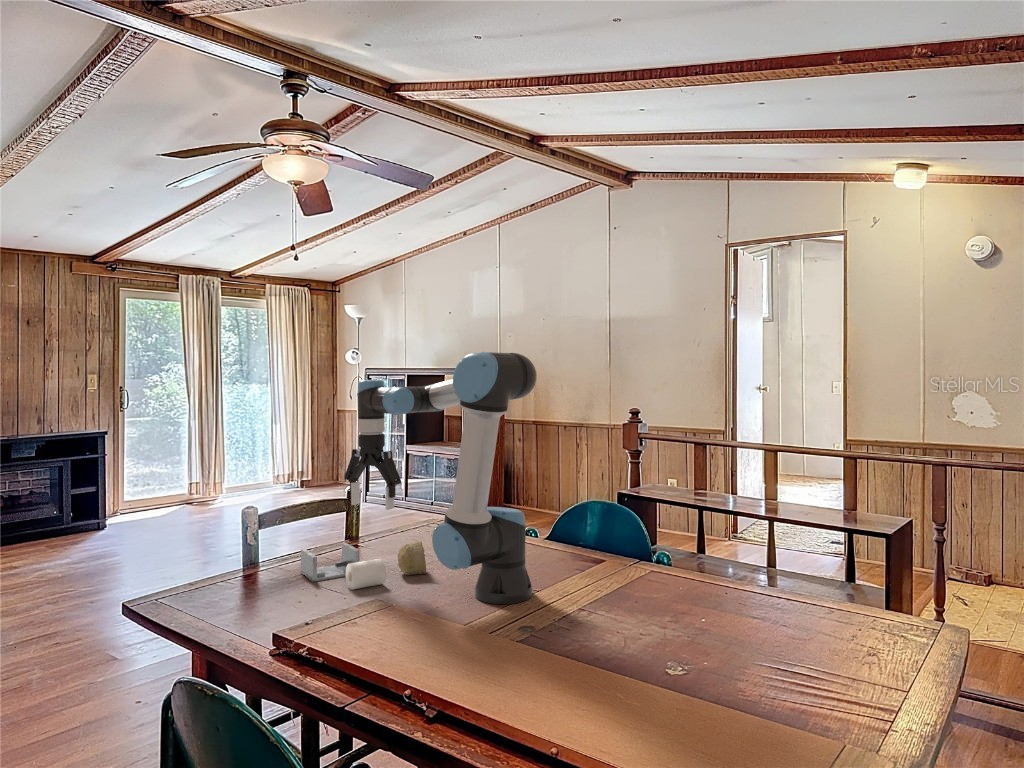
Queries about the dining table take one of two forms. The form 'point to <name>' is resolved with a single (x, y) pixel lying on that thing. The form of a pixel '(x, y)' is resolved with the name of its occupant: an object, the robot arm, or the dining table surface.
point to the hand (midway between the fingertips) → (372, 506)
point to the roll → (365, 574)
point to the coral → (412, 559)
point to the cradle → (330, 571)
